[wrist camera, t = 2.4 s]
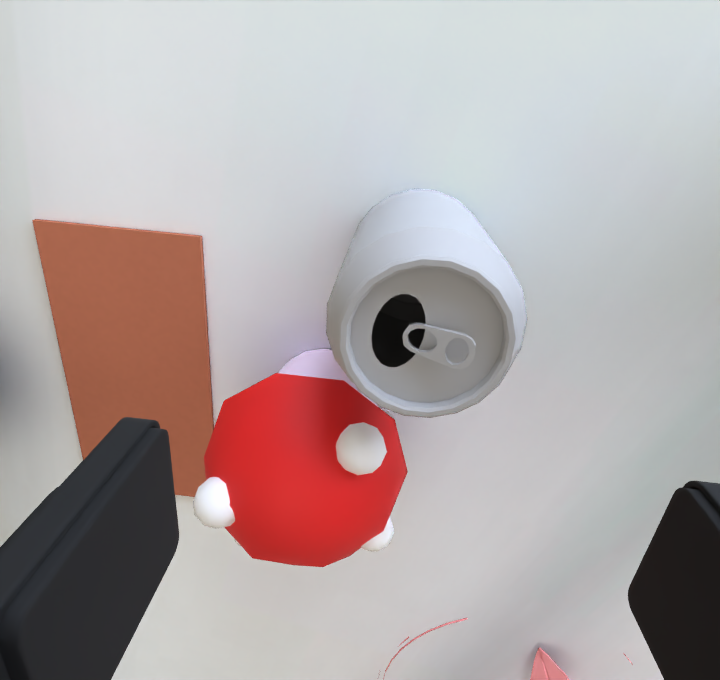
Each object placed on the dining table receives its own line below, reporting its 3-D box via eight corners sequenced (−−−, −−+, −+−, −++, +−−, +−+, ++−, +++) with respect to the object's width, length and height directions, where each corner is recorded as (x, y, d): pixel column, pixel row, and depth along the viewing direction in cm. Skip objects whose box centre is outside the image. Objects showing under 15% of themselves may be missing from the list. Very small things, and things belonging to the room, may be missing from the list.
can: (366, 172, 26) (340, 213, 15) (502, 203, 26) (576, 267, 15) (340, 300, 29) (302, 411, 18) (461, 327, 29) (496, 454, 18)
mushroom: (436, 360, 30) (455, 498, 19) (368, 482, 35) (352, 649, 24) (276, 294, 29) (201, 400, 18) (228, 429, 34) (145, 578, 23)
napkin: (202, 235, 28) (200, 236, 28) (218, 497, 36) (216, 499, 36) (35, 218, 28) (32, 220, 28) (90, 481, 37) (88, 484, 36)
